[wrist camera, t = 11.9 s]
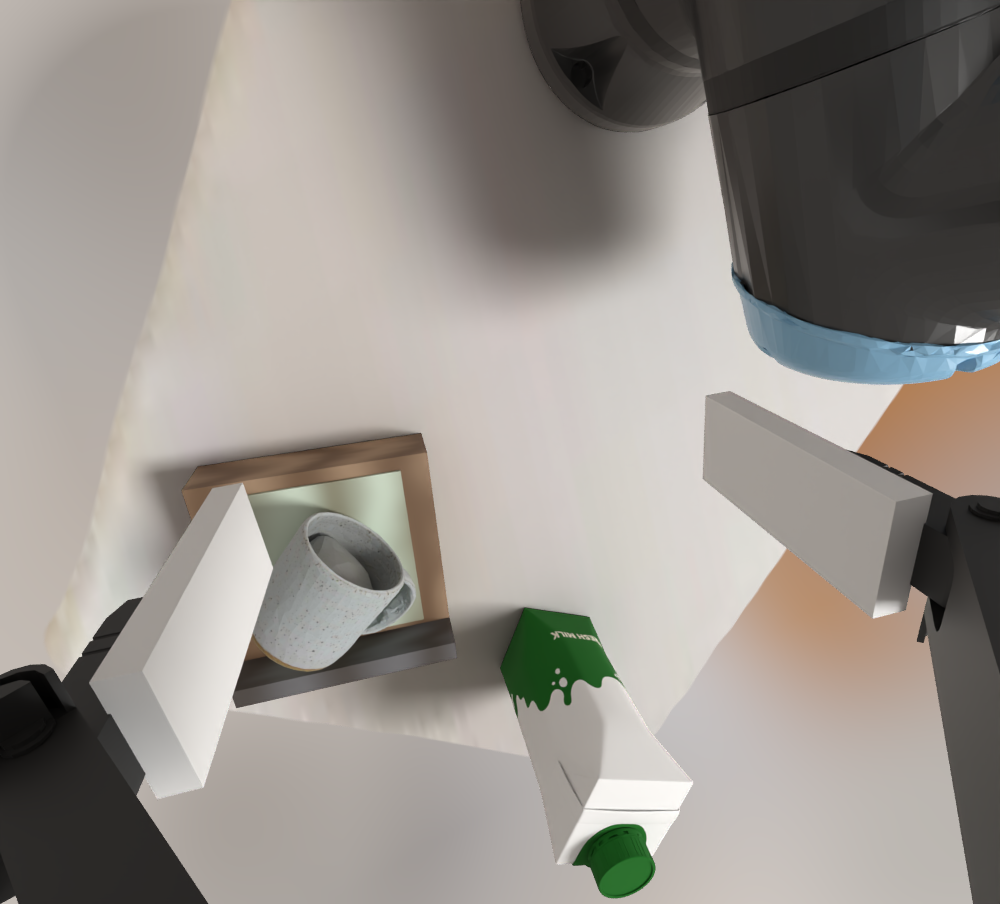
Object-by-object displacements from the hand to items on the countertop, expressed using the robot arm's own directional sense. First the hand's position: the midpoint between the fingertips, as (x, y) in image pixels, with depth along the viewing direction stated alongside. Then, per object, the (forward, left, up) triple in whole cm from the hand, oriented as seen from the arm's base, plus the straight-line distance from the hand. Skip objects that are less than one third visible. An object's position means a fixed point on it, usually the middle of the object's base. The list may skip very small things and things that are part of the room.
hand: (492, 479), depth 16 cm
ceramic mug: (+7, +16, -22) cm, 28 cm away
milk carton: (-9, +31, -26) cm, 42 cm away
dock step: (+8, +16, -26) cm, 32 cm away
